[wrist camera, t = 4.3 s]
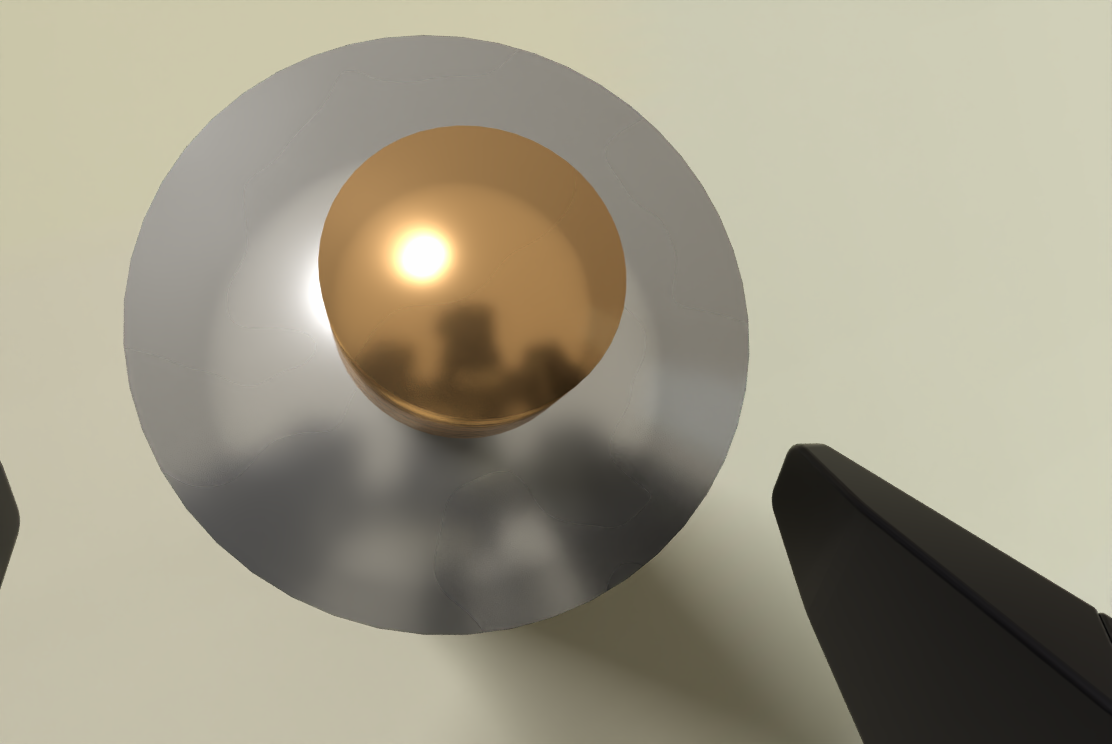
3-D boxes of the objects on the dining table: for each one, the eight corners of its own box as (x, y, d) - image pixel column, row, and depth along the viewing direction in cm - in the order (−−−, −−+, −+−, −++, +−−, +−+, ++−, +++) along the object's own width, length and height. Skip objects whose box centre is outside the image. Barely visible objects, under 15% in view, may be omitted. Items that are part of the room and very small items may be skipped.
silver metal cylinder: (514, 358, 18) (780, -12, 6) (519, 559, 17) (851, 629, 5) (309, 356, 17) (102, -104, 5) (302, 570, 16) (17, 691, 4)
